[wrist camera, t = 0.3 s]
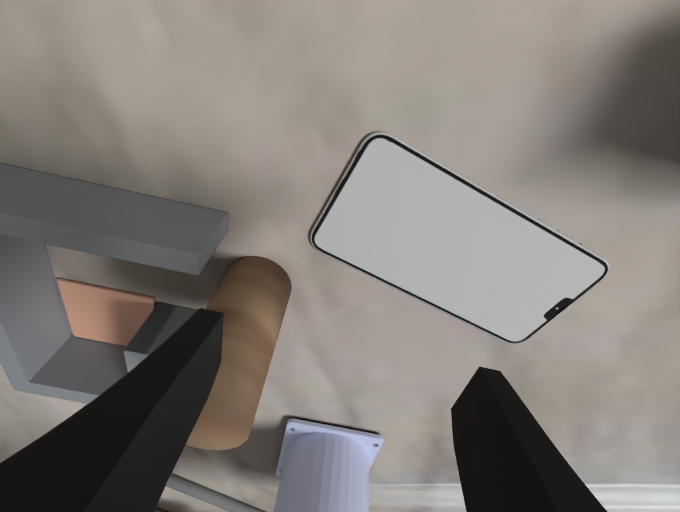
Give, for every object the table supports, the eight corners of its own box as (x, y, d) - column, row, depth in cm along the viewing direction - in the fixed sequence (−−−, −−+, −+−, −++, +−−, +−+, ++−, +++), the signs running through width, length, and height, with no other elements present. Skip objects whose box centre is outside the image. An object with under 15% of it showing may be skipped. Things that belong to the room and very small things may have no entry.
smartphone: (373, 123, 16) (619, 267, 19) (373, 119, 17) (612, 260, 20) (303, 245, 20) (517, 348, 23) (305, 238, 21) (513, 340, 24)
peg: (287, 314, 23) (246, 457, 16) (224, 301, 23) (154, 440, 16) (295, 264, 21) (253, 404, 14) (226, 249, 21) (145, 384, 13)
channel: (222, 374, 27) (201, 424, 24) (58, 342, 27) (14, 390, 23) (227, 212, 19) (198, 254, 16) (-4, 162, 19) (-84, 195, 15)
